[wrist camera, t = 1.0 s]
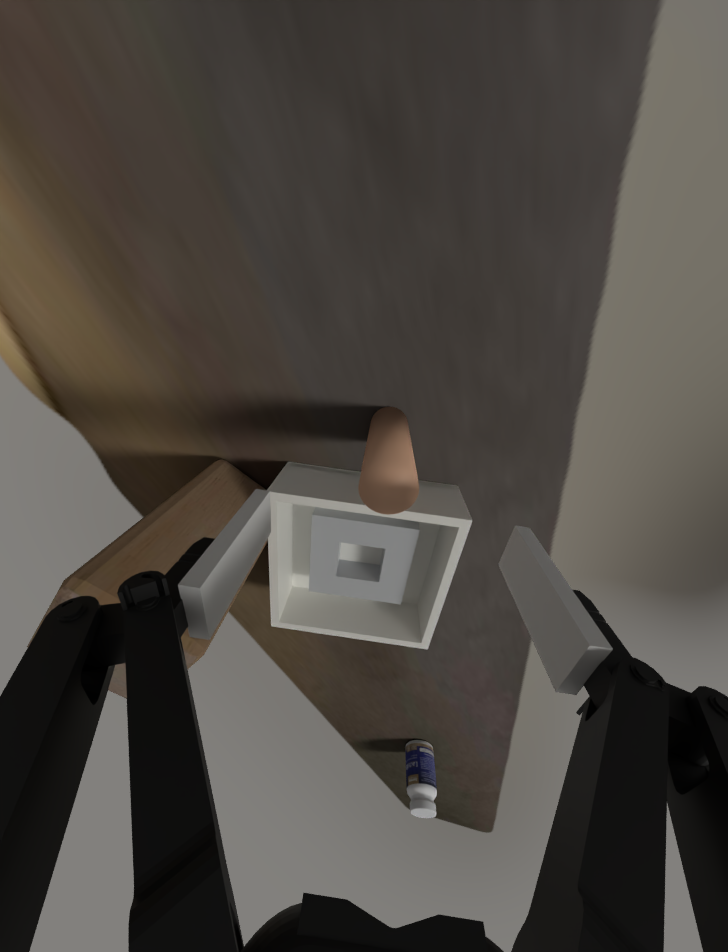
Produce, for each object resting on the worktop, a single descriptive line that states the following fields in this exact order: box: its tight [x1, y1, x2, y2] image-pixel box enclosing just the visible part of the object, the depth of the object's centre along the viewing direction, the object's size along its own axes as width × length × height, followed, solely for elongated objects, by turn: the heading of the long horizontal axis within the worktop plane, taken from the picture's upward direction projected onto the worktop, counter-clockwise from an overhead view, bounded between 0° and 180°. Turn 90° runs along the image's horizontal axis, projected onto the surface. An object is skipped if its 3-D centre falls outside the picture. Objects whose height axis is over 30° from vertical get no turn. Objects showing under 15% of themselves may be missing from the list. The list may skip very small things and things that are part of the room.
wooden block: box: [27, 459, 268, 699], centre depth 30 cm, size 10×10×20 cm
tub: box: [267, 462, 472, 649], centre depth 36 cm, size 20×20×7 cm
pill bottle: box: [405, 740, 437, 818], centre depth 59 cm, size 6×6×10 cm
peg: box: [358, 407, 419, 515], centre depth 26 cm, size 4×4×14 cm
